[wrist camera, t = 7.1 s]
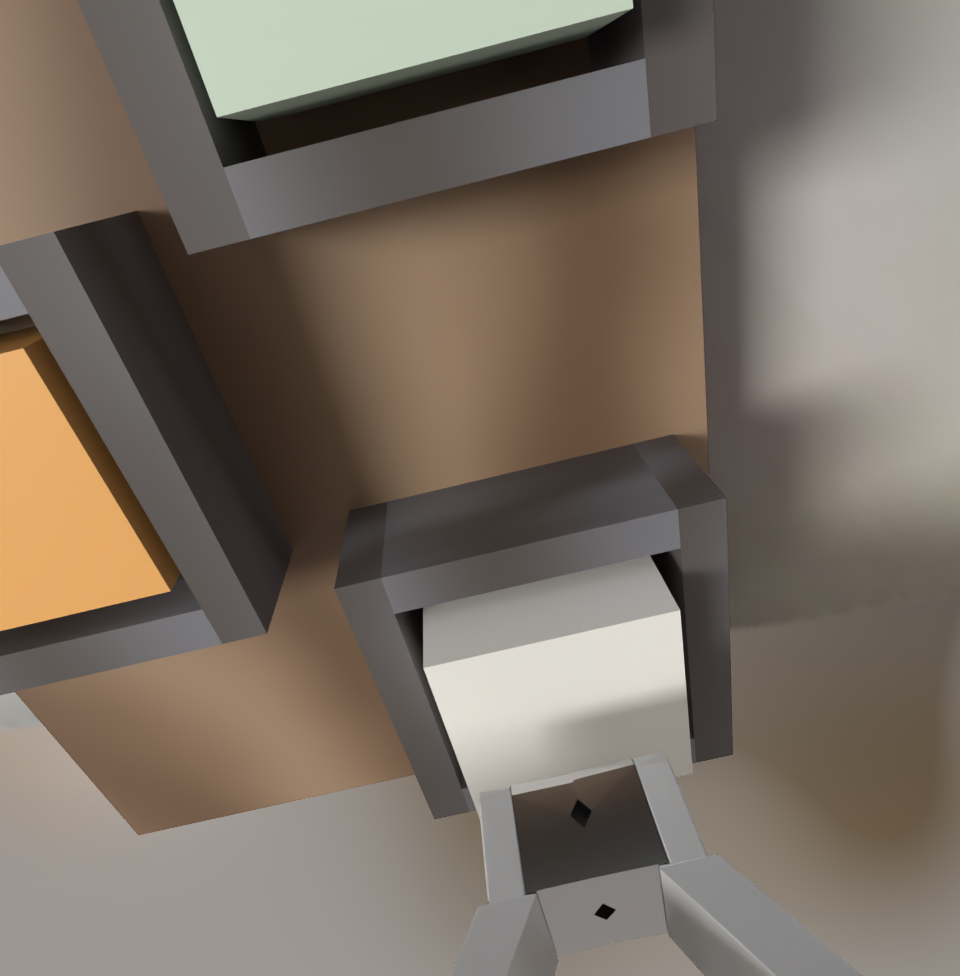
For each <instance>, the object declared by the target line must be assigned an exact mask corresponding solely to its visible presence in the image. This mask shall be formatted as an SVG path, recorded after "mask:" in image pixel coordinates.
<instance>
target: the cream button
mask: <svg viewBox="0 0 960 976" xmlns="http://www.w3.org/2000/svg"><path fill="white" fill-rule="evenodd" d="M423 669H424V671H425V674H426V677H427V679H428V682H429V685H430V687H431V690H432V693H433V695H434V698H435V701H436V703H437V706H438V709H439V711H440V714H441V717H442V720H443V722H444V725H445V728H446V730H447V733H448V736H449V738H450V741H451V744H452V746H453V749H454V752H455V754H456V757H457V760H458V762H459V765H460V768H461V770H462V773H463V776H464V778H465V781H466V784H467V786H468V789H469V792H470V794H471V797H472V800H473V802H474V805H475V808H476V810H477V813H478V816H479V818H480V810H479V797H480V792H484V791H488V790H492V789H497V788H501V787H505V786H510V785H511V786H512V785H517V784H521V783H526V782H531V781H535V780H540V779H545V778H550V777H554V776H559V775H564V774H568V773H571V772H573V771H578V770H582V769H586V768H590V767H594V766H598V765H602V764H606V763H610V762H614V761H619V760H623V759H627V758H631V759H632V758H636V757H640V756H644V755H648V754H652V753H656V752H660V751H662V752H663V753H664V754H665V755H666V757H667V758H668V760H669V762H670V765H671V767H672V770H673V772H674V774H675V777H678V776H683V775H687V774H692V773H693V769H692V756H691V743H690V730H689V717H688V704H687V692H686V679H685V666H684V653H683V640H682V627H681V614H680V609H679V607H678V605H677V604H676V602H675V600H674V598H673V596H672V594H671V593H670V591H669V589H668V587H667V585H666V584H665V582H664V580H663V578H662V576H661V574H660V573H659V571H658V569H657V567H656V565H655V564H654V562H653V560H652V558H651V556H650V555H649V556H645V557H641V558H636V559H632V560H628V561H623V562H619V563H615V564H610V565H606V566H602V567H597V568H593V569H588V570H584V571H580V572H575V573H571V574H567V575H562V576H558V577H554V578H549V579H545V580H541V581H536V582H532V583H527V584H523V585H519V586H514V587H510V588H506V589H501V590H497V591H493V592H488V593H484V594H480V595H475V596H471V597H466V598H462V599H458V600H453V601H449V602H445V603H440V604H436V605H432V606H427V607H423Z"/></svg>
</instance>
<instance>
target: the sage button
mask: <svg viewBox="0 0 960 976" xmlns="http://www.w3.org/2000/svg"><path fill="white" fill-rule="evenodd" d="M173 1H174V4H175V7H176V9H177V12H178V15H179V17H180V20H181V23H182V25H183V28H184V31H185V33H186V36H187V39H188V41H189V44H190V47H191V49H192V52H193V55H194V58H195V60H196V63H197V66H198V68H199V71H200V74H201V76H202V79H203V82H204V84H205V87H206V90H207V92H208V95H209V98H210V100H211V103H212V106H213V108H214V111H215V114H216V116H217V117H218V118H228V119H237V120H247V121H256V122H264V121H268V120H272V119H276V118H280V117H283V116H287V115H291V114H295V113H299V112H303V111H306V110H310V109H314V108H318V107H322V106H325V105H329V104H333V103H337V102H341V101H345V100H348V99H352V98H356V97H360V96H364V95H368V94H371V93H375V92H379V91H383V90H387V89H391V88H394V87H398V86H402V85H406V84H410V83H414V82H417V81H421V80H425V79H429V78H433V77H437V76H440V75H444V74H448V73H452V72H456V71H460V70H463V69H467V68H471V67H475V66H479V65H483V64H486V63H490V62H494V61H498V60H502V59H506V58H509V57H513V56H517V55H521V54H525V53H529V52H532V51H536V50H540V49H544V48H548V47H552V46H555V45H559V44H563V43H567V42H571V41H575V40H578V39H582V38H586V37H587V36H589V35H591V34H592V33H594V32H596V31H597V30H599V29H600V28H602V27H604V26H605V25H607V24H609V23H610V22H612V21H613V20H615V19H617V18H618V17H620V16H622V15H623V14H625V13H626V12H628V11H630V10H631V9H633V0H173Z"/></svg>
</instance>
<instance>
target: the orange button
mask: <svg viewBox="0 0 960 976" xmlns="http://www.w3.org/2000/svg"><path fill="white" fill-rule="evenodd" d="M180 574H181V573H180V571H179V569H178V567H177V566H176V564H175V562H174V561H173V559H172V557H171V556H170V554H169V552H168V550H167V549H166V547H165V545H164V544H163V542H162V540H161V538H160V537H159V535H158V533H157V532H156V530H155V528H154V527H153V525H152V523H151V521H150V520H149V518H148V516H147V515H146V513H145V511H144V510H143V508H142V506H141V504H140V503H139V501H138V499H137V498H136V496H135V494H134V492H133V491H132V489H131V487H130V486H129V484H128V482H127V481H126V479H125V477H124V475H123V474H122V472H121V470H120V469H119V467H118V465H117V463H116V462H115V460H114V458H113V457H112V455H111V453H110V452H109V450H108V448H107V446H106V445H105V443H104V441H103V440H102V438H101V436H100V435H99V433H98V431H97V429H96V428H95V426H94V424H93V423H92V421H91V419H90V417H89V416H88V414H87V412H86V411H85V409H84V407H83V406H82V404H81V402H80V400H79V399H78V397H77V395H76V394H75V392H74V390H73V388H72V387H71V385H70V383H69V382H68V380H67V378H66V377H65V375H64V373H63V371H62V370H61V368H60V366H59V365H58V363H57V361H56V359H55V358H54V356H53V354H52V353H51V351H50V349H49V348H48V346H47V344H46V342H45V341H44V339H43V337H42V336H41V334H40V332H39V331H38V329H37V327H36V326H33V327H29V328H25V329H21V330H18V331H14V332H10V333H6V334H2V335H0V631H3V630H7V629H12V628H16V627H20V626H24V625H29V624H33V623H37V622H42V621H46V620H50V619H54V618H59V617H63V616H67V615H71V614H76V613H80V612H84V611H89V610H93V609H97V608H101V607H106V606H110V605H114V604H118V603H123V602H127V601H131V600H136V599H140V598H144V597H148V596H153V595H157V594H161V593H165V592H170V591H171V590H172V588H173V586H174V585H175V583H176V581H177V579H178V577H179V576H180Z"/></svg>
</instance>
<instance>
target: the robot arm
mask: <svg viewBox="0 0 960 976" xmlns="http://www.w3.org/2000/svg"><path fill="white" fill-rule="evenodd" d="M479 810H480V820H481V832H482V842H483V853H484V864H485V875H486V885H487V896H488V903H487V904H483V905H479V906H478V909H477V911H476V913H475V916H474V918H473V920H472V923H471V925H470V927H469V930H468V932H467V934H466V937H465V939H464V942H463V944H462V946H461V948H460V951H459V953H458V955H457V958H456V960H455V962H454V965H453V967H452V969H451V972H450V974H449V976H555V971H556V968H557V964H558V958H557V956H561V955H565V954H569V953H573V952H577V951H581V950H586V949H590V948H593V947H598V946H602V945H606V944H609V943H615V942H620V941H625V940H631V939H636V938H642V937H647V936H653V935H658V934H663V933H669V937H670V938H671V939H672V940H673V941H674V942H675V943H676V944H677V946H678V947H679V948H680V949H681V950H682V951H683V952H684V953H685V955H686V956H687V957H688V958H689V959H690V960H691V961H692V962H693V964H694V965H695V966H696V967H697V968H698V969H699V970H700V971H701V972H702V974H703V975H704V976H863V975H862V974H861V973H859V972H858V971H857V970H856V969H855V968H853V967H852V966H851V965H850V964H849V963H847V962H846V961H845V960H844V959H842V958H841V957H840V956H839V955H838V954H837V953H835V952H834V951H833V950H832V949H831V948H829V947H828V946H827V945H826V944H825V943H824V942H822V941H821V940H820V939H819V938H818V937H816V936H815V935H814V934H813V933H812V932H810V931H809V930H808V929H807V928H806V927H805V926H803V925H802V924H801V923H800V922H799V921H797V920H796V919H795V918H794V917H793V916H791V915H790V914H789V913H788V912H787V911H785V910H784V909H783V908H782V907H781V906H780V905H778V904H777V903H776V902H775V901H774V900H772V899H771V898H770V897H769V896H768V895H766V894H765V893H764V892H763V891H762V890H761V889H759V888H758V887H757V886H756V885H754V884H753V883H752V882H751V881H750V880H749V879H747V878H746V877H745V876H744V875H742V874H741V873H740V872H739V871H738V870H737V869H735V868H734V867H733V866H732V865H731V864H729V863H728V862H727V861H726V860H725V859H724V858H722V857H721V856H720V855H719V854H718V853H717V854H711V855H707V853H706V850H705V847H704V845H703V843H702V840H701V838H700V835H699V833H698V830H697V828H696V826H695V823H694V821H693V818H692V816H691V813H690V811H689V809H688V806H687V804H686V802H685V799H684V796H683V794H682V791H681V789H680V787H679V784H678V782H677V779H676V777H675V774H674V772H673V770H672V767H671V765H670V762H669V760H668V758H667V757H666V755H665V754H664V753H663V752H662V751H660V752H656V753H652V754H648V755H644V756H640V757H636V758H632V759H631V758H627V759H623V760H619V761H614V762H610V763H606V764H602V765H598V766H594V767H590V768H586V769H582V770H578V771H573V772H571V773H568V774H564V775H559V776H554V777H550V778H545V779H540V780H535V781H531V782H526V783H521V784H517V785H512V786H511V785H510V786H505V787H501V788H497V789H492V790H488V791H484V792H480V797H479Z"/></svg>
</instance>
